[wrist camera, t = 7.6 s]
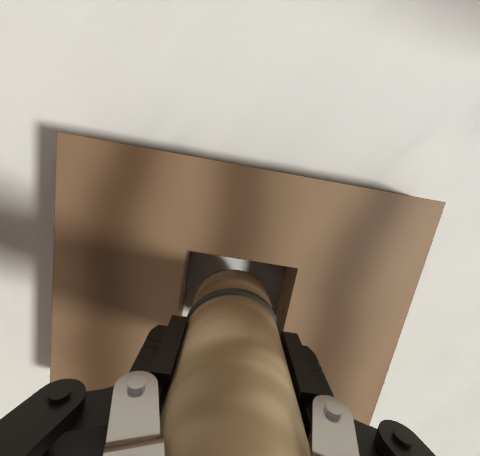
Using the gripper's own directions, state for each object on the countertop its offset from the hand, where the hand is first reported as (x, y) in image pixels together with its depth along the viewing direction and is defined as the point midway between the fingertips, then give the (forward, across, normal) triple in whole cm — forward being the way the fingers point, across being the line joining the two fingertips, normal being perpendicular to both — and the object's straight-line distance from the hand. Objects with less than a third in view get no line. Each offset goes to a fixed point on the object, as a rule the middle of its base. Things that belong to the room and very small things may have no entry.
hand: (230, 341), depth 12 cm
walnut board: (+5, 0, 0) cm, 5 cm away
